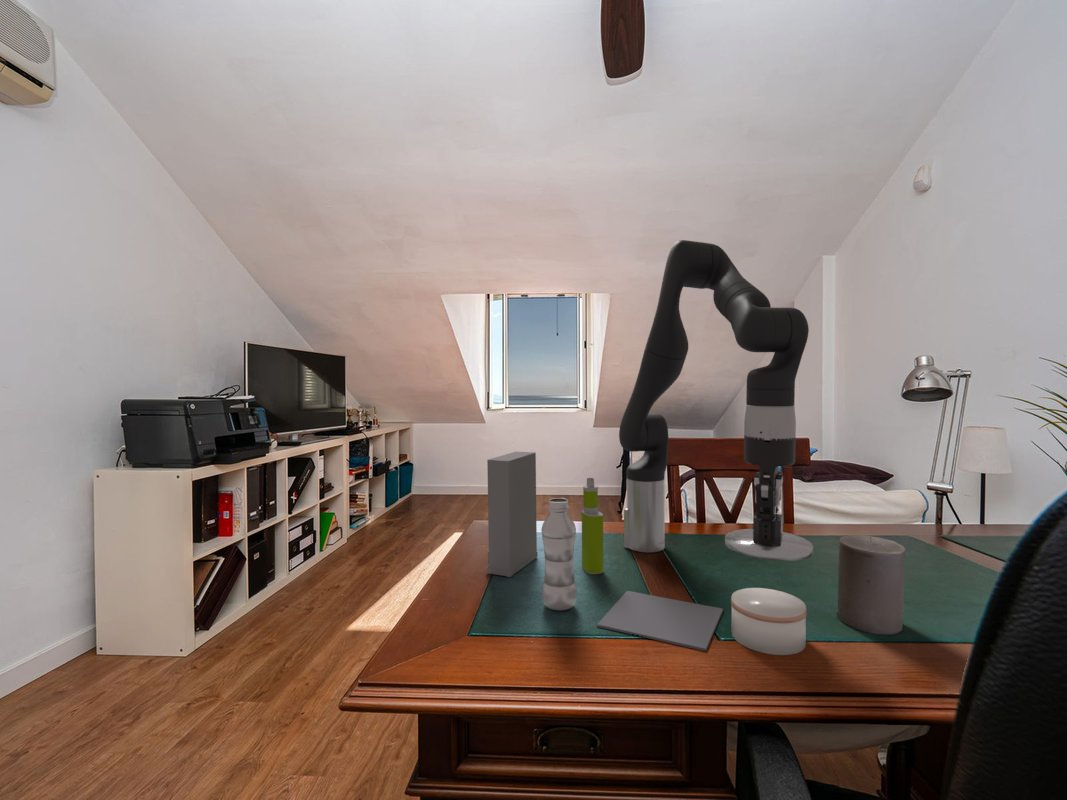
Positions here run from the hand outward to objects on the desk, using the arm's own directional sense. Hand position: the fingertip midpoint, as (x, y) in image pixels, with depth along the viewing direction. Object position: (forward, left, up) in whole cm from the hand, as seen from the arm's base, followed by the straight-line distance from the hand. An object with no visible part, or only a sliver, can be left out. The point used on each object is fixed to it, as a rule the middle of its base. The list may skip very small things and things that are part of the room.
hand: (767, 539), depth 87 cm
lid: (0, 0, -1) cm, 1 cm away
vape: (-37, +16, -16) cm, 43 cm away
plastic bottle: (-35, -5, -16) cm, 39 cm away
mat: (-17, -1, -16) cm, 23 cm away
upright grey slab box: (-54, +10, -16) cm, 57 cm away
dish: (0, 0, -16) cm, 16 cm away
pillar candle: (+15, +14, -16) cm, 26 cm away
